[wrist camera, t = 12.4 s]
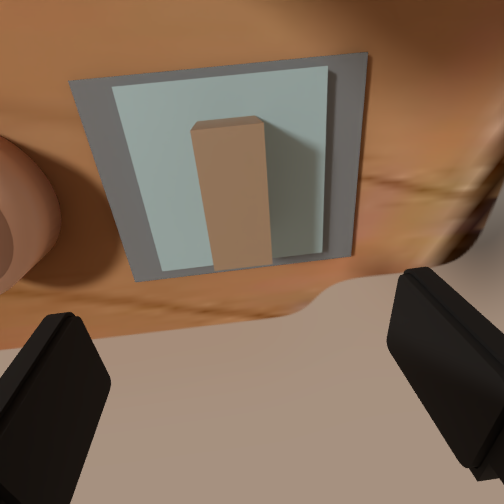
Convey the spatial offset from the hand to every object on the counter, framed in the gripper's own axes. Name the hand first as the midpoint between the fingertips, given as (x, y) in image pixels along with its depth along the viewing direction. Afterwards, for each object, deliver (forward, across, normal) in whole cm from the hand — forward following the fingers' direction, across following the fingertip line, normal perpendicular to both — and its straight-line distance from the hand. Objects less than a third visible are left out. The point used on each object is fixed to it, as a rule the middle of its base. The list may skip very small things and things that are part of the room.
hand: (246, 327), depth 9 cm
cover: (+17, 0, 0) cm, 17 cm away
